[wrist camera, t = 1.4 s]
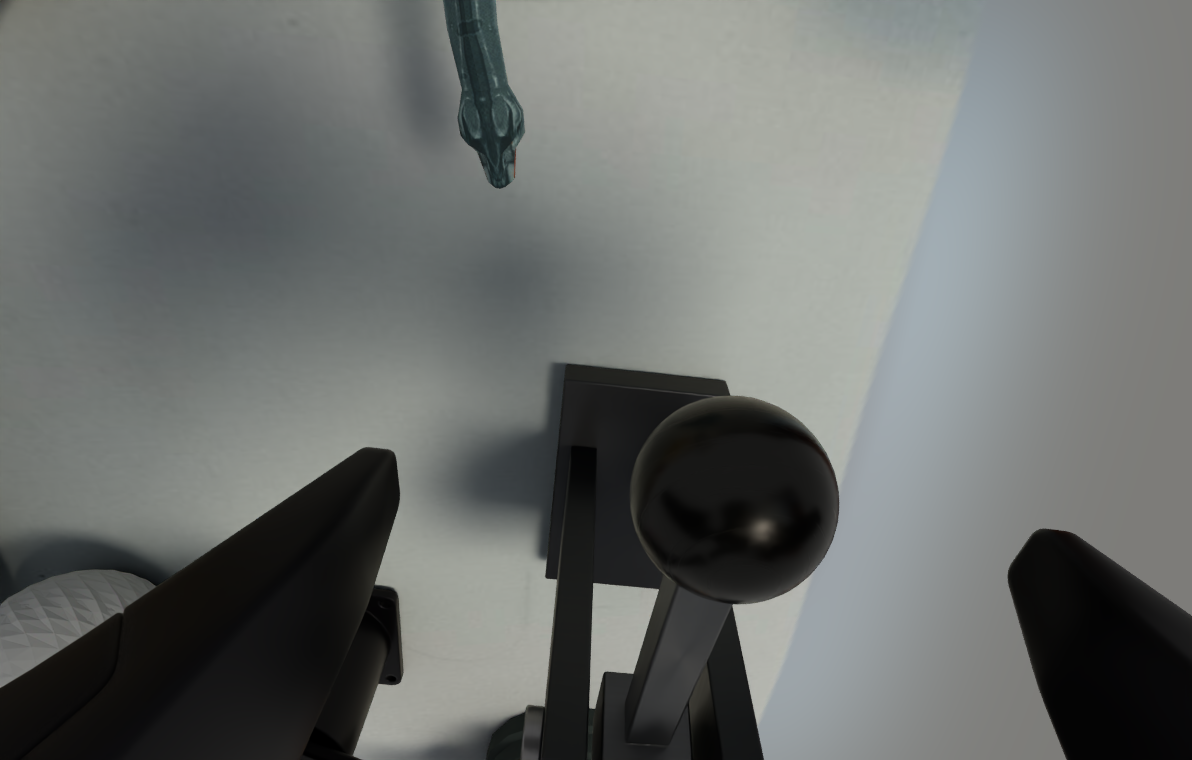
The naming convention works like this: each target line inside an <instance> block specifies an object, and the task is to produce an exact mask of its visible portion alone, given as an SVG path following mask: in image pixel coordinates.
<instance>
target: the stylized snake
mask: <svg viewBox="0 0 1192 760" xmlns="http://www.w3.org/2000/svg"><path fill="white" fill-rule="evenodd" d="M443 3H444V10H445V17H446V24H447V30H448V34H449V38H450V43H451V47H452V51H453V55H454V59H455V63H456V67H457V71H458V75H459V79H460V83H461V87H462V92H461V100H460V107H459V113H458V124H459V129H460V135H461V137H462V138H463V139H464V140H465V142H466V143H467V144H468V145H469V146H471V147H472V148H473V149H475V150H476V151H477V153H478V155H479V158H480V161H481V163H482V166H483V169H484V171H485V174H486V177H487V180H488V182H489V183H490V184H491V185H492V186H494V187H495V188H499V189H501V188H503V187H506V186H507V185H508V184H509V183H511V182H512V181H513V180H514V178H515V160H516V147H517V145H518V143H519V142H520V140H521V138H522V136H523V135H524V133H525V128H524V115H523V109H522V107H521V105H520V104H519V102H518V100H517V99H516V97H515V95H514V93H513V92H512V90H511V88H510V87H509V85H508V81H507V75H506V70H505V64H504V59H503V53H502V48H501V42H500V37H499V31H498V26H497V13H496V0H443Z"/></svg>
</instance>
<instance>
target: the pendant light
mask: <svg viewBox="0 0 1192 760" xmlns="http://www.w3.org/2000/svg"><path fill="white" fill-rule="evenodd" d="M155 587H156V586H155V585H153V584H152V583H151V582H149V581H148V580H147V579H143V578H140V577H138V576H135V575H133V574H131V573H124V572H120V571H116V570H97V569H93V570H82V571H73V572H70V573H66V574H61V575H57V576H52V577H50V578H48V579H46V580H43V581H41V582H38V583H35V584H32V585H30V586H28V587H27V588H25V589H24V590H22V591H20V592H18V593H16V594H14V595H12V596H10V597H8V598H7V599H6V600H5V601H4V602H3V603H2V604H1V605H0V688H1V687H2V686H4V685H6V684H7V683H9V682H11V681H12V680H14V679H16V678H17V677H19V676H21V675H22V674H24V673H26V672H27V671H29V670H31V669H32V668H34V667H35V666H37V665H38V664H40V663H41V662H43V661H44V660H46V659H48V658H49V657H51V656H52V655H54V654H55V653H57V652H58V651H60V650H61V649H63V648H65V647H66V646H68V645H69V644H71V643H72V642H74V641H75V640H77V639H78V638H80V637H82V636H83V635H85V634H86V633H88V632H89V631H91V630H92V629H94V628H95V627H97V626H98V625H100V624H101V623H102V622H104V621H105V620H107V619H108V618H110V617H111V616H113V615H114V614H116V613H123V611H124V609H125V607H127V606H128V605H130V604H131V603H133V602H134V601H136V600H137V599H139V598H140V597H142V596H143V595H145V594H146V593H147V592H149V591H150V590H152V589H153V588H155Z"/></svg>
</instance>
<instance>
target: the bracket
mask: <svg viewBox="0 0 1192 760" xmlns="http://www.w3.org/2000/svg"><path fill="white" fill-rule="evenodd" d="M718 396H730V393H729V390H728V387H727V384H726V382H725V381H719V380H710V379H700V378H691V377H681V376H672V375H662V374H653V373H643V372H634V371H625V370H615V369H606V368H596V367H587V366H577V365H567V366H566V370H565V378H564V387H563V398H562V408H561V419H560V429H559V439H558V450H557V460H556V470H555V481H554V491H553V502H552V512H551V522H550V533H549V543H548V554H547V564H546V574H545V577H546V578H547V579H557V586H556V597H555V607H554V617H553V627H552V638H551V648H550V658H549V668H548V679H547V689H546V699H545V707H543V706H533V705H528V706H527V707H526V712H525V720H524V728H523V737H522V746H521V755H520V760H587V750H588V720H589V690H590V660H591V630H592V600H593V583H600V584H610V585H621V586H631V587H642V588H653V589H659V588H660V585H661V582H662V579H663V575H664V574H663V573H662V572H661V571H660V570H659V569H658V568H657V567H656V565H655V564H654V563H653V562H652V560H651V559H650V558H649V556H648V555H647V553H646V552H645V550H644V548H643V546H642V545H641V543H640V540H639V538H638V536H637V534H636V531H635V527H634V524H633V520H632V516H631V509H630V497H629V494H630V483H631V475H632V472H633V468H634V465H635V461H636V458H637V456H638V454H639V452H640V450H641V448H642V446H643V444H644V443H645V441H646V440H647V438H648V437H649V436H650V434H651V433H652V432H653V430H654V429H655V428H656V427H657V426H658V425H659V424H660V423H661V422H662V421H663V420H665V419H666V418H667V417H668V416H670V415H671V414H672V413H674V412H675V411H677V410H679V409H680V408H682V407H684V406H686V405H688V404H690V403H693V402H696V401H699V400H702V399H707V398H711V397H718ZM689 711H690V725H691V739H692V753H693V760H764V758H763V753H762V748H761V743H760V738H759V734H758V729H757V724H756V719H755V714H754V709H753V704H752V699H751V694H750V690H749V685H748V680H747V675H746V670H745V665H744V660H743V656H742V651H741V646H740V641H739V636H738V631H737V626H736V621H735V617H734V612H733V607H731V609H730V611H729V614H728V616H727V618H726V620H725V622H724V625H723V627H722V629H721V631H720V634H719V636H718V638H717V640H716V642H715V645H714V647H713V649H712V651H711V654H710V656H709V658H708V660H707V662H706V665H705V667H704V669H703V671H702V674H701V676H700V678H699V680H698V682H697V685H696V687H695V689H694V691H693V694H692V696H691V698H690V700H689Z"/></svg>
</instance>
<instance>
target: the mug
mask: <svg viewBox="0 0 1192 760" xmlns="http://www.w3.org/2000/svg"><path fill="white" fill-rule="evenodd" d="M594 712H595V710H591V709H589V720H588V750H587V760H591V759H592V734H593V716H594ZM524 720H525V714H523V715H520V716H517V717H515V718H512V719H510V720H509V721H508V722H507V723H505V724H504V725H503V726H502V727H501V728H500V729H498V730H497V731H496V732H495V733H494V734H493V735H492V738H491V742H490V745H489V748H488V752H487V757H486V760H520V755H521V746H522V737H523V728H524Z"/></svg>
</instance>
